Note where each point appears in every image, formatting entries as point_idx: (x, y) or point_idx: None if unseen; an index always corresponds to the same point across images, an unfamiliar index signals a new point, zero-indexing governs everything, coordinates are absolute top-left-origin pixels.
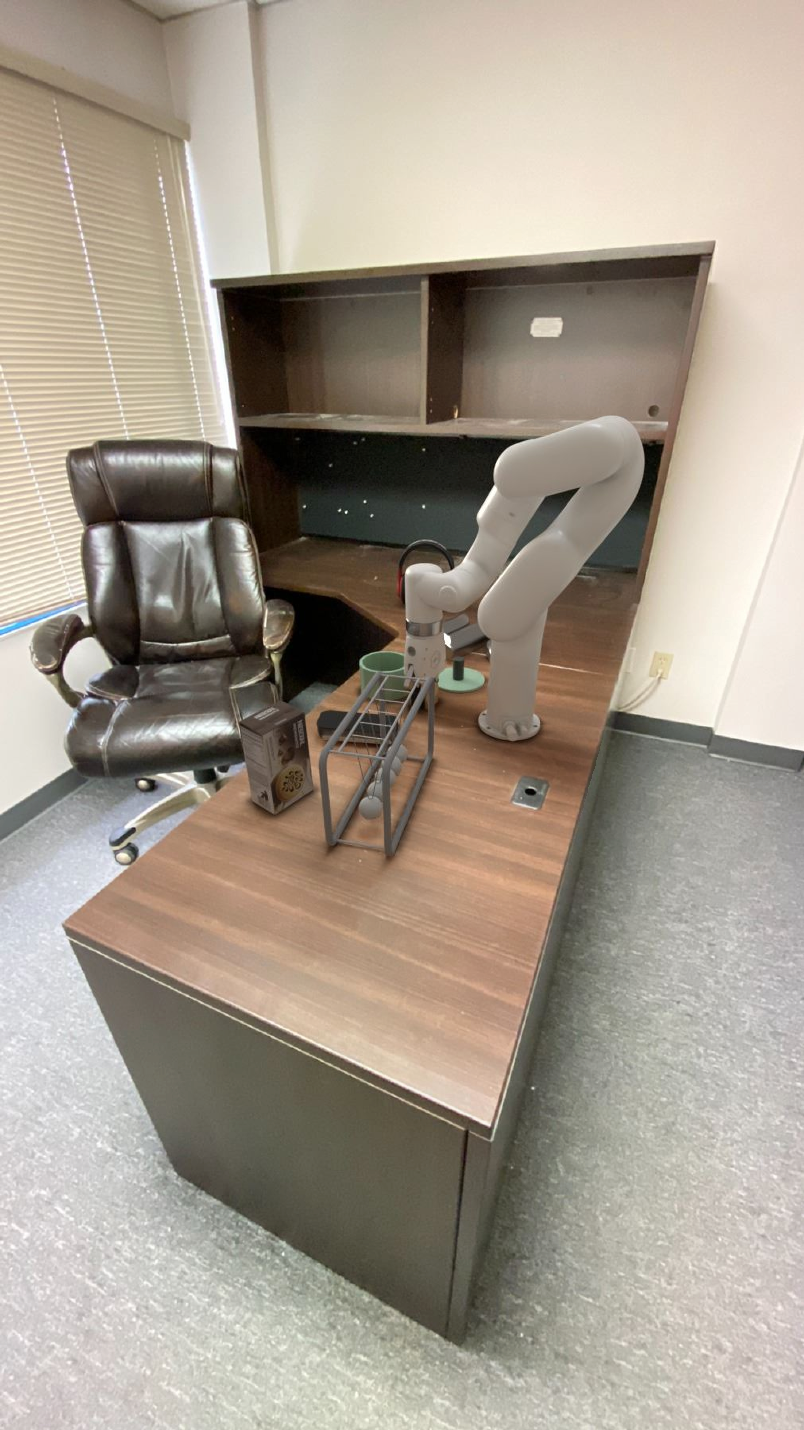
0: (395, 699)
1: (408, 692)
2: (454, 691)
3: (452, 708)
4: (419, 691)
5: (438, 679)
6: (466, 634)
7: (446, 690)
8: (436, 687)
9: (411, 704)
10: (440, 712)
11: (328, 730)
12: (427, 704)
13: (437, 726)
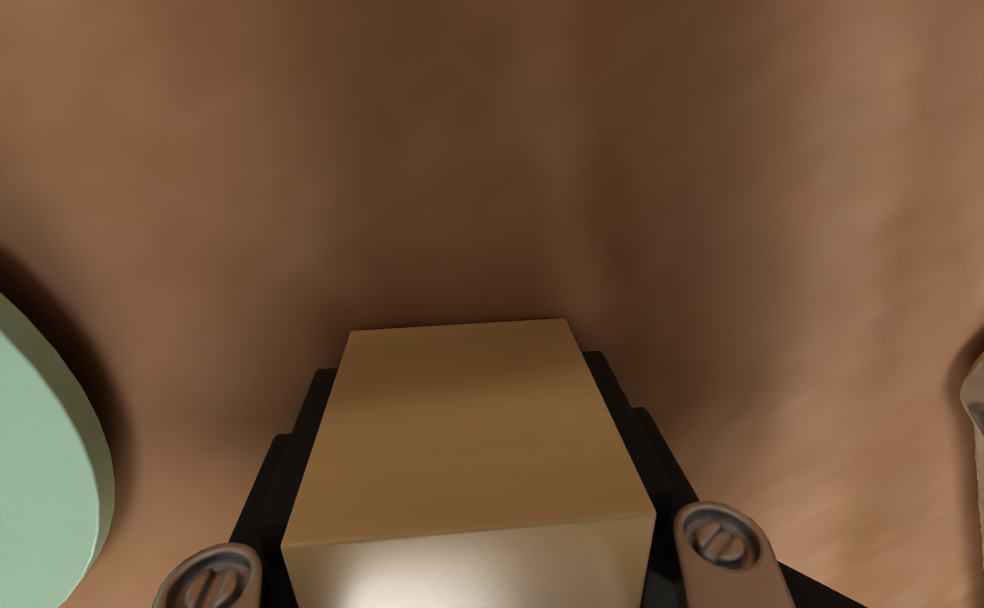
0: None
1: None
2: (10, 319)
3: (328, 133)
4: (774, 575)
5: (166, 605)
6: None
7: (80, 402)
8: (356, 486)
9: None
10: (499, 200)
11: None
12: (584, 362)
13: (806, 44)
